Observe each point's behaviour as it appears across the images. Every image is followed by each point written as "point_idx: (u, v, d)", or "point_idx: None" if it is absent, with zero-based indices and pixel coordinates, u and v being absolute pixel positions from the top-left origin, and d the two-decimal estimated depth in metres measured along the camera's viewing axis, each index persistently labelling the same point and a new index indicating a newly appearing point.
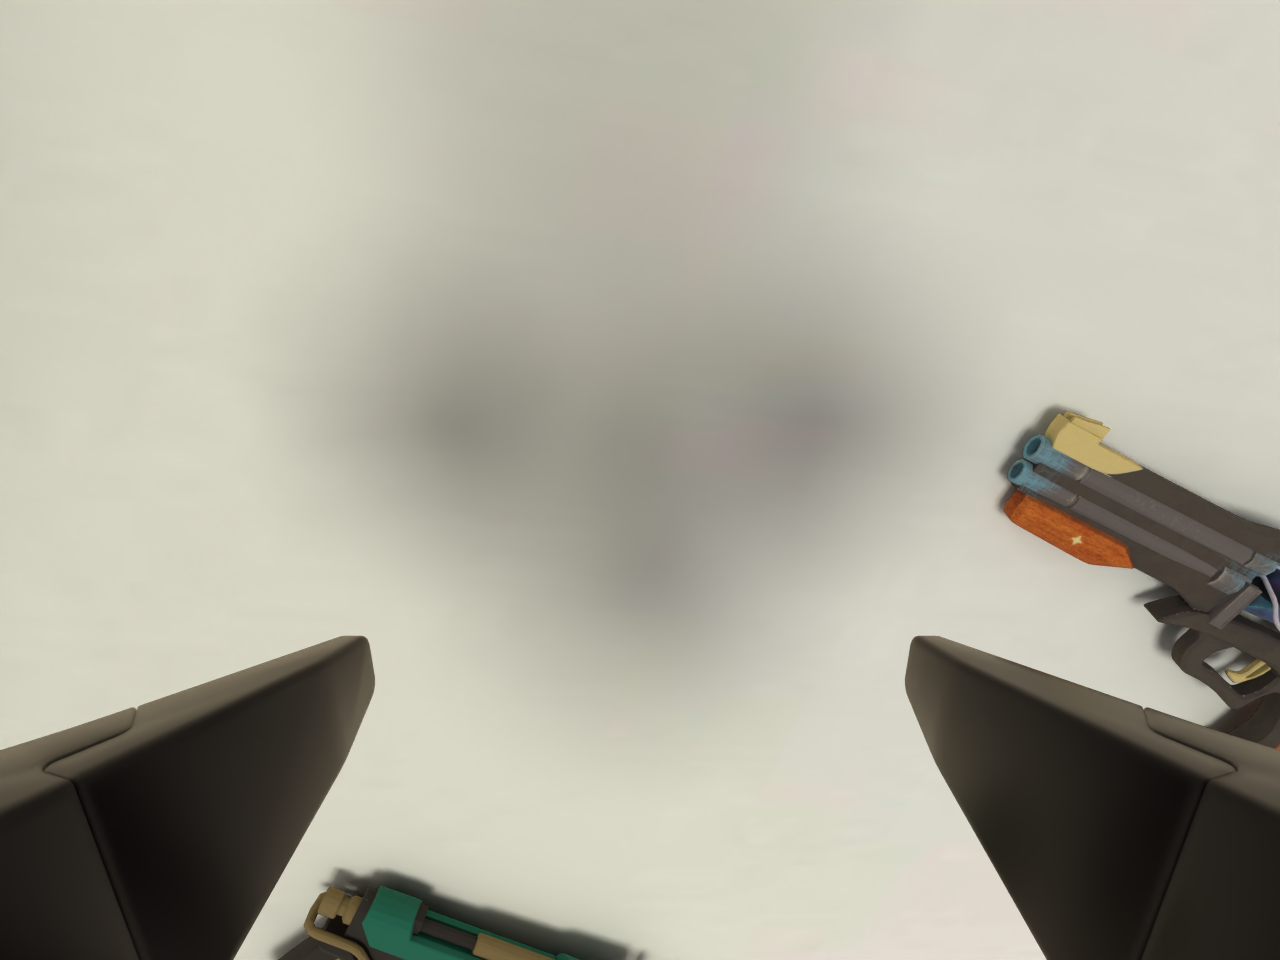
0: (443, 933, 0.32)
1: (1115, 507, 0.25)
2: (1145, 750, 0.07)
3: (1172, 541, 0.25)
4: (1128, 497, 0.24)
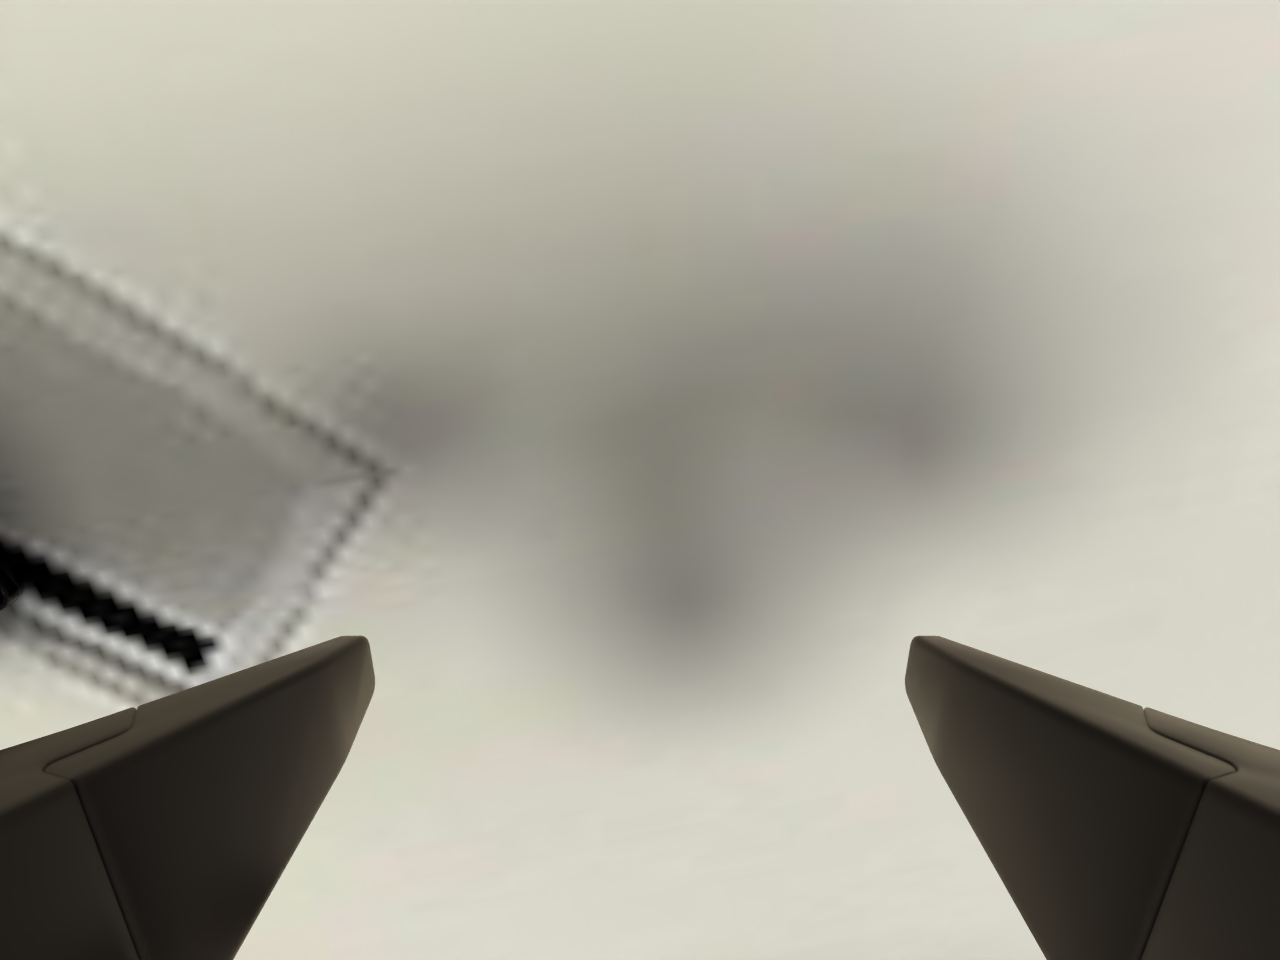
0: None
1: None
2: (1145, 750, 0.07)
3: None
4: None
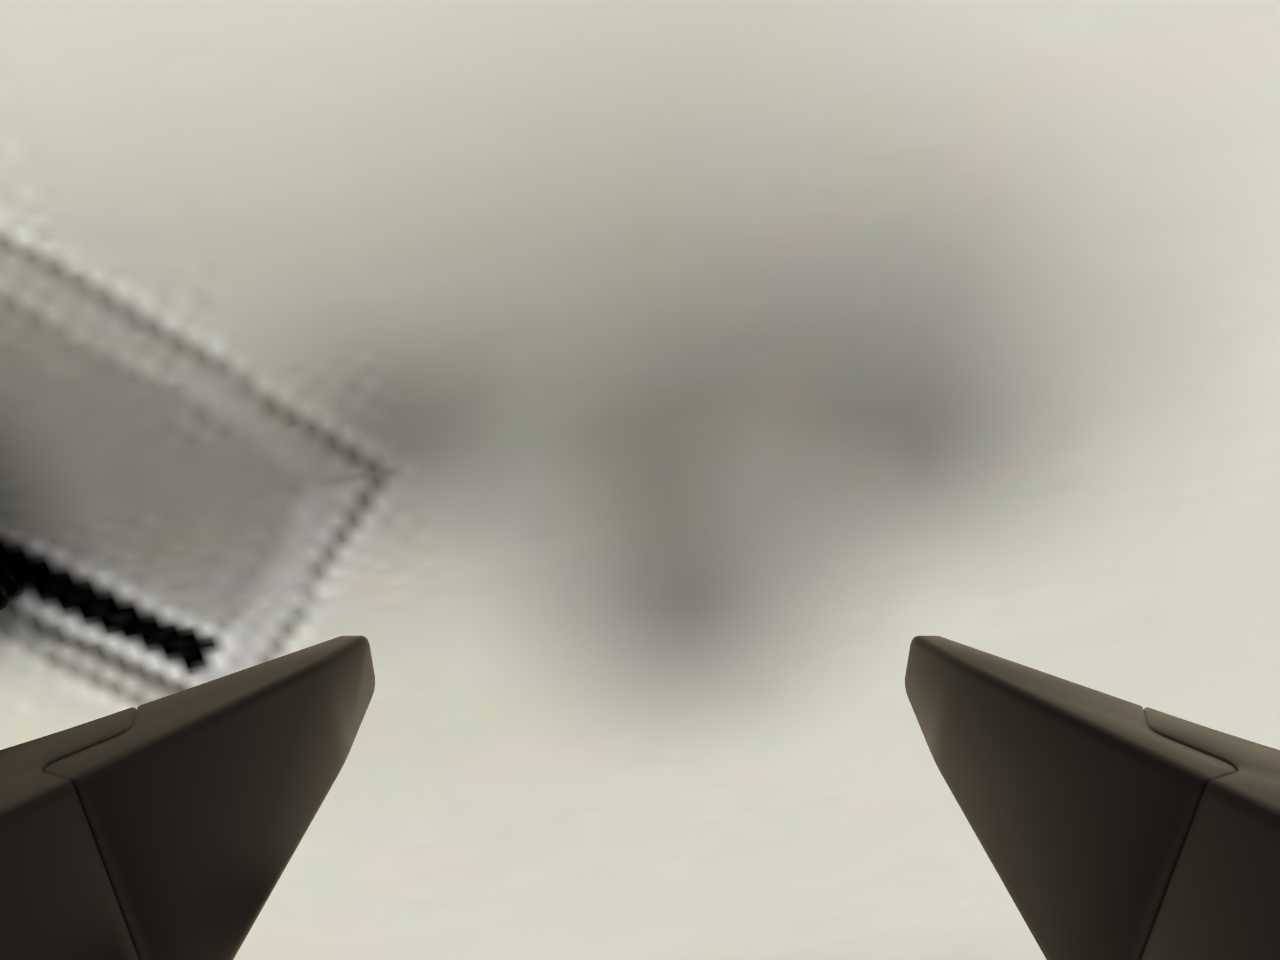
0: None
1: None
2: (1145, 750, 0.07)
3: None
4: None
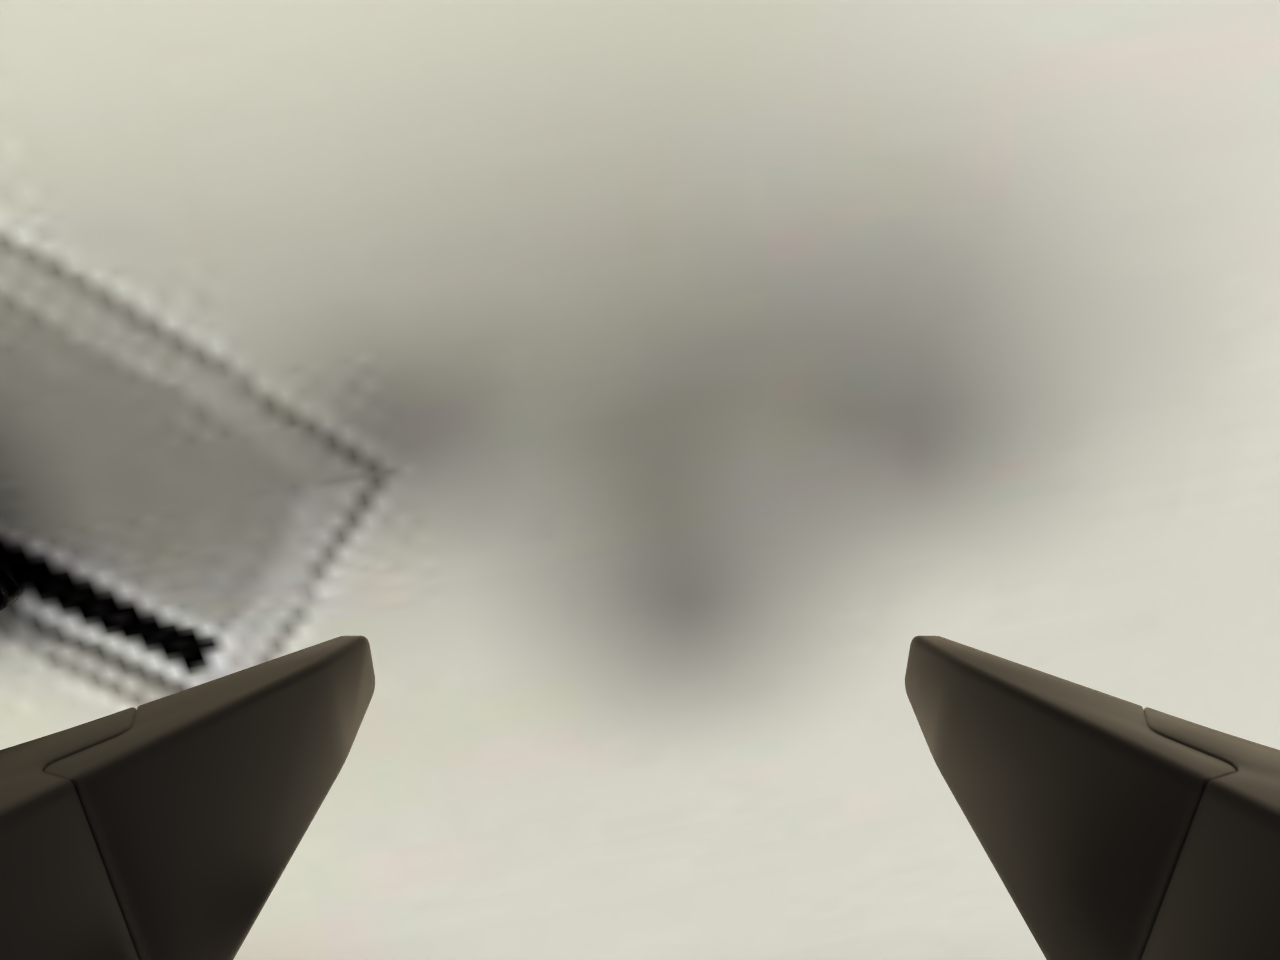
0: None
1: None
2: (1145, 750, 0.07)
3: None
4: None
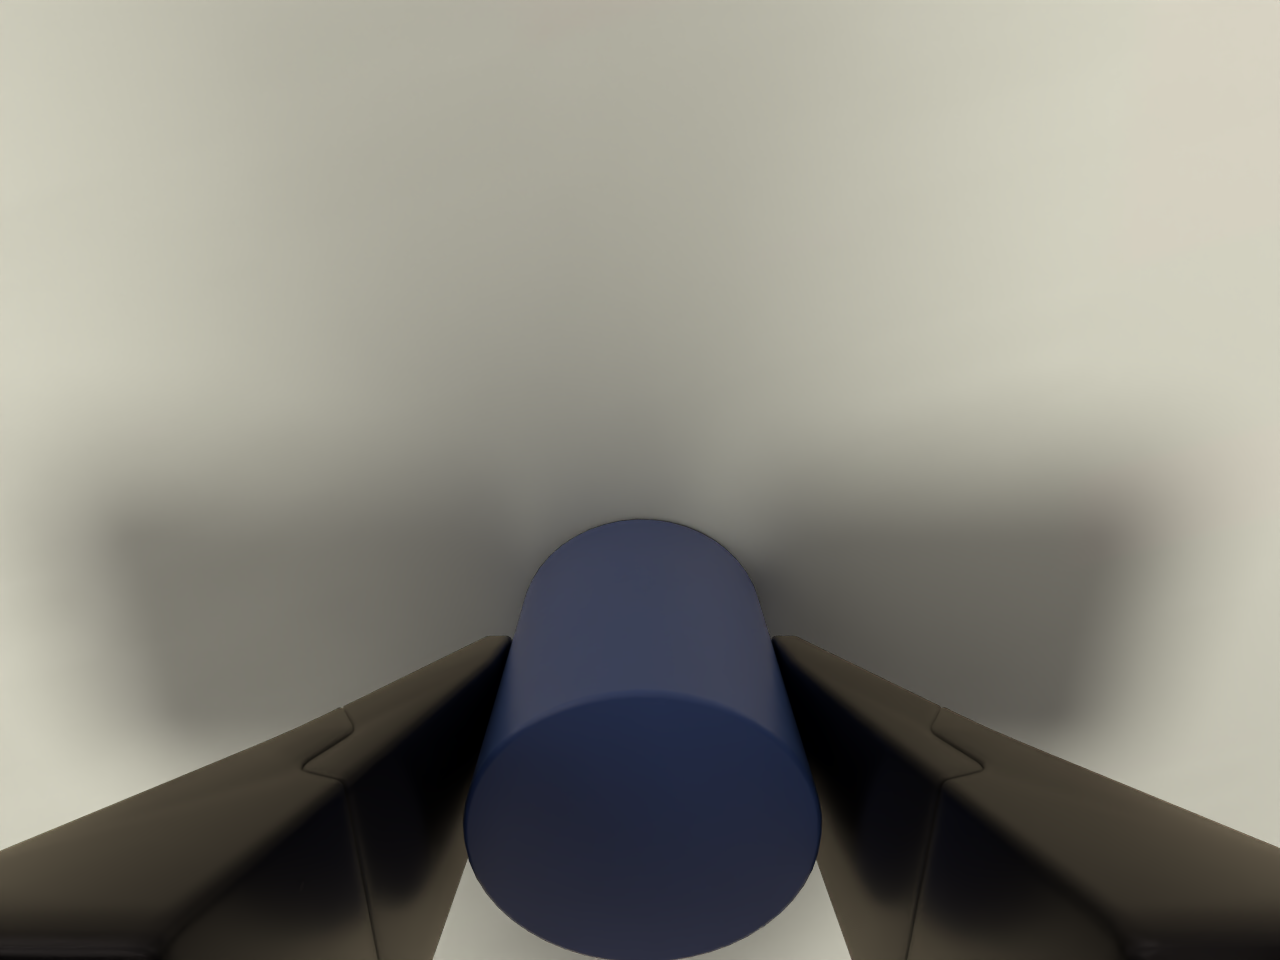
0: None
1: None
2: (908, 750, 0.07)
3: None
4: None
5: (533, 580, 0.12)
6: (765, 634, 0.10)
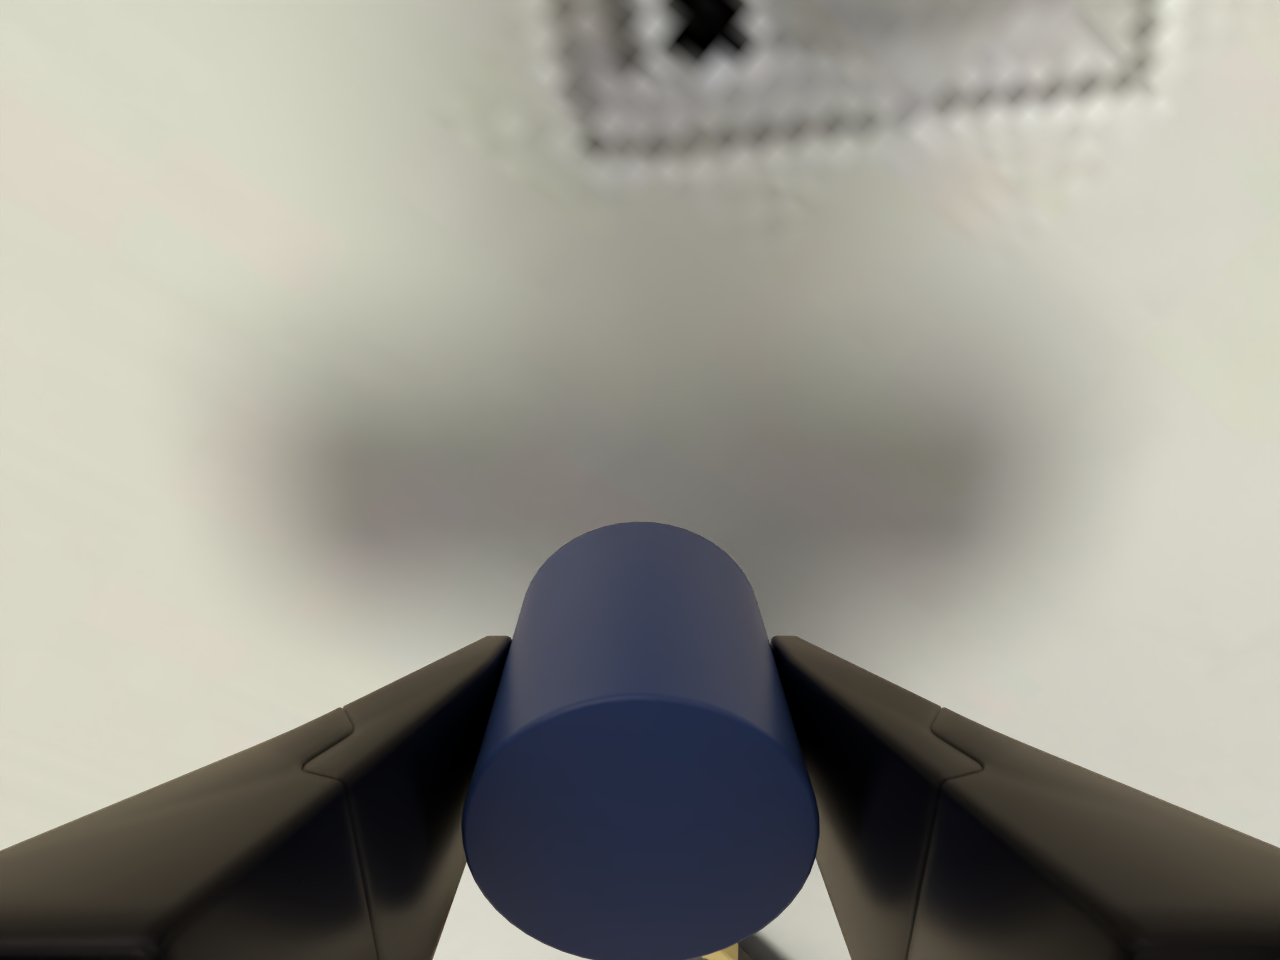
0: None
1: None
2: (908, 750, 0.07)
3: None
4: None
5: (532, 582, 0.12)
6: (763, 637, 0.10)
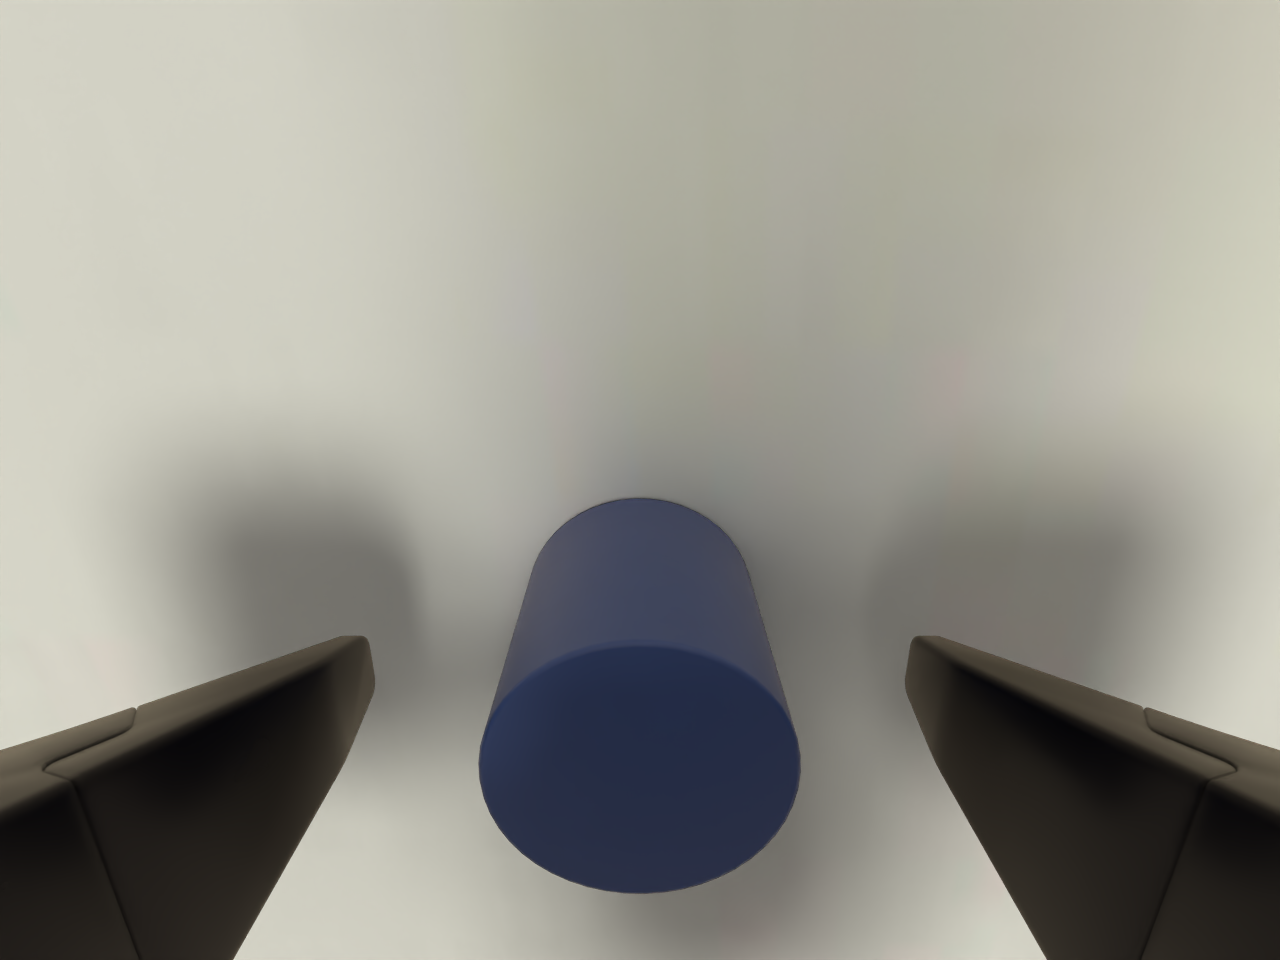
0: None
1: None
2: (1145, 750, 0.07)
3: None
4: None
5: (539, 555, 0.13)
6: (753, 601, 0.11)
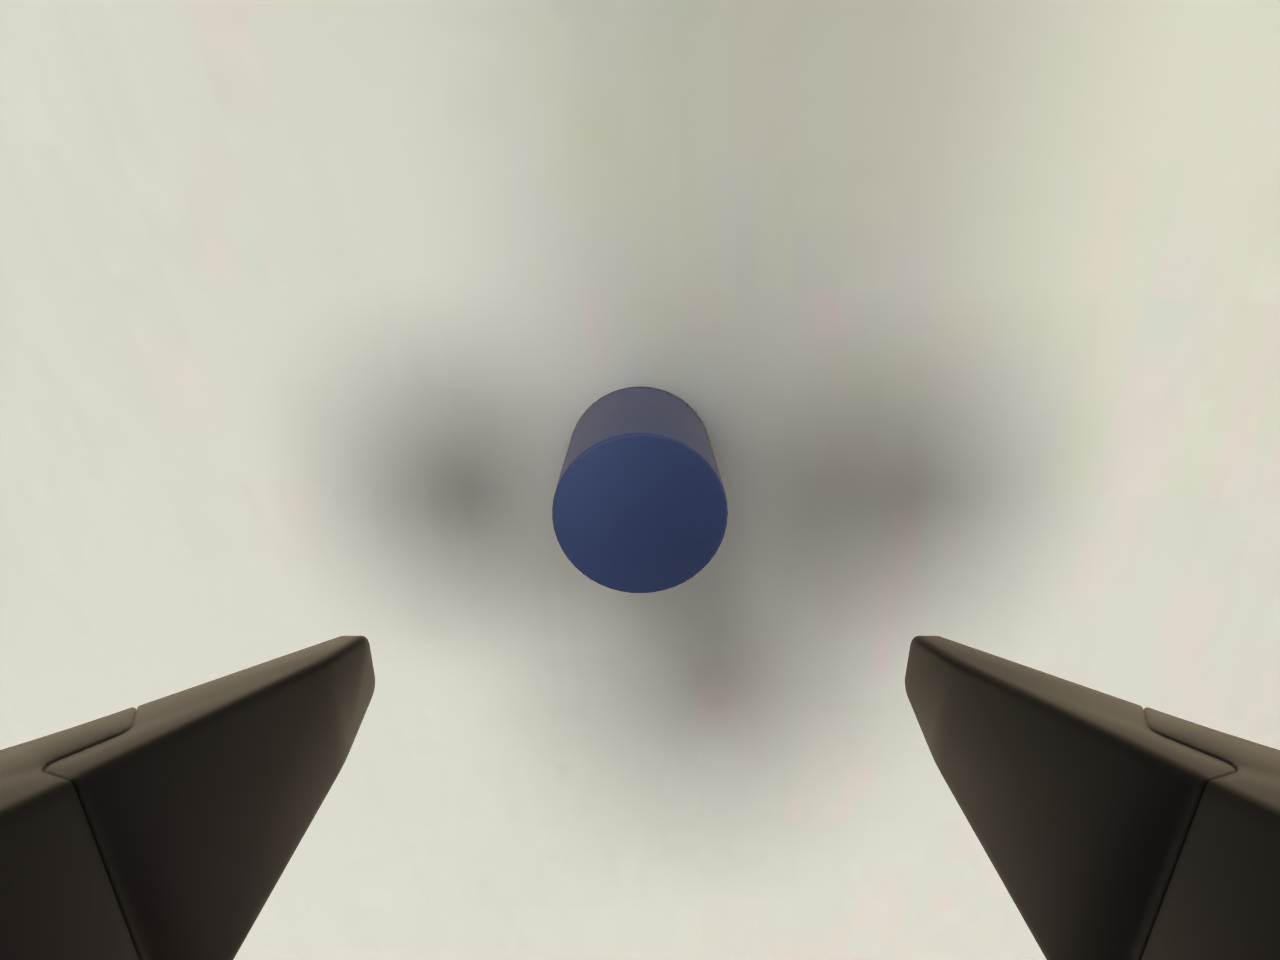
0: None
1: None
2: (1145, 750, 0.07)
3: None
4: None
5: (577, 423, 0.21)
6: (707, 440, 0.19)
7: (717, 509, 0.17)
